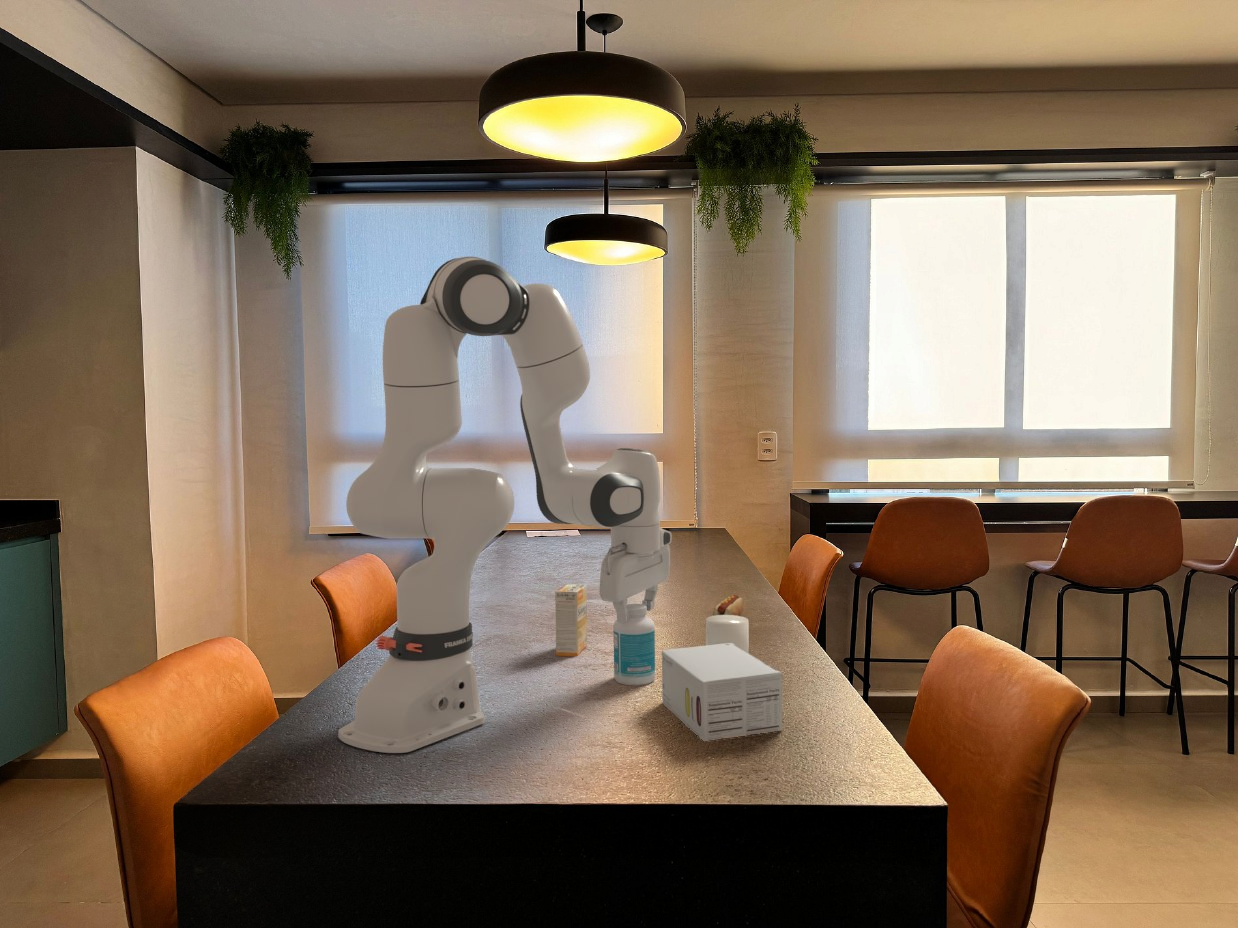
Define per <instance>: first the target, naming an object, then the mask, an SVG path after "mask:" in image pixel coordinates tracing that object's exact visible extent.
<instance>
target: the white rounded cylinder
mask: <svg viewBox="0 0 1238 928" xmlns="http://www.w3.org/2000/svg"><path fill="white" fill-rule="evenodd" d="M749 625H750V624H749V619H748V618H747V617H745V616H741V615H740V616H735V615H715V616H713V615H711V616H708V617H706V619H705V646H706V645H715V644H724V643H733V644H734V645H736V646H737V647H739V648H740V649H742V650H744V651H745V652H747V653H749V654H750V652H749V649H750V648H749V647H750V644H749V639H750V637H749V633H750V632H749V627H750V626H749Z"/></svg>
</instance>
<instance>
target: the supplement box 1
mask: <svg viewBox="0 0 1238 928" xmlns="http://www.w3.org/2000/svg"><path fill="white" fill-rule="evenodd" d="M554 594H555V595H554V596H555V597H554V598H555V656H557V657H578V656H579V655H580V654H581V653H582V652H583V650H584V649H585V648H587V646H588V600H587V599H588V585H587V584H577V583H575V584H572V583H571V584H564V586H562V587H560V588H558V589H557V590H556V591H555V593H554Z"/></svg>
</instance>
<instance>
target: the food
mask: <svg viewBox="0 0 1238 928" xmlns="http://www.w3.org/2000/svg"><path fill="white" fill-rule="evenodd" d="M743 609H744V600H743V598H742V597H739V596H738V595H736V594H734V595H730V596H728V597H727V598H725V599H724V600H722V601H721V602H719V603H718V604H717V605H715V607H714V608H713V610H712V616H715V615H735V616H741V615H742V613H743Z"/></svg>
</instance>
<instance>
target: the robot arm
mask: <svg viewBox="0 0 1238 928" xmlns="http://www.w3.org/2000/svg"><path fill="white" fill-rule="evenodd" d="M467 334H468V335H470V336H475V337H493V336H502V337H503V339H504V340H505V342H506V344H507V345H508V347H509V348H510V351H511V353H512V354H511V355H512V357H513V360H514V364H515V366H516V369H517V372H518V375H519V379H520V384H521V385H520V386H521V395H520V401H519V406H520V414H521V419H522V424H523V429H524V433H525V438H526V441H527V445H528V449H529V453H530V457H531V461H532V465H533V470H534V474H535V483H536V484H535V485H536V486H535V490H536V500H537V505H538V508H539V511H540V512H541V514H542V515H543V517H544V518H546V519H547V520H548V521H549V522H551V523H553V524H557V525H579V526H587V527H597V528H602V529H603V528H604V529H606V528H607V529H608V528H610V547H609V548H608V550H607V552H606V554H605V556H604V557H603V559H602V562H601V566H600V577H599V596H600V598H601V599H600V600H602V601H604V602H608V603H609V602H610V603H612V605H613V607H614V610H615V612H616V620H617V622H618V623H623V624H624V623H626V622H628V621H629V620H630V612H627V608H626V604H628V599H630V598H631V597H634V596H635V595H638V594H640V593H642V592H644V591H645V592H644V598H643V600H642V602H641V603H642V604H643V605H646V606H647V612H648V611H652V610H654V609H655V599H656V597H657V593H658V591H659V589H658V588H659V587H658V585H660V584H662V583H664V582H666V581H667V580H668V578H669V575H670V570H671V569H670V567H671V548H670V544H671V543H672V542H673V541H672V540H673V535H672V532H671V531H668V530H666V529H663V528H662V527H661V517H660V515H659V504H660V501H661V478H660V470H659V464H658V460H657V457H656V456H655V454H654V453H653V452H651V451H648V450H645V449H639V448H637V449H636V448H629V447H622V448H617V449H615V450H614V451H613V454H612V456H611V458H609V460H608V461H606V462H605V463H603V464H602V465H601V466H599V467H596V468H595V469H586V468H585V469H583V468H578V467H576V466H574V465H573V464H572V463H571V462H570V461H569V459H568V455H567V452H566V447H565V442H564V438H563V434H562V429H561V425H560V424H561V423H560V419H561V414H562V412H563V411H565V410H566V409H568V408H569V407H570V406H572V405H574V404H575V403H576V402H577V401H579V400H580V399H581V398H582V396H583V395H584V393H585V392H586V391H587V388H588V385H589V383H590V379H591V372H590V371H591V370H590V363H589V359H588V355H587V353H586V351H585V348H584V343H583V341H582V339H581V335H580V333H579V331H578V328H577V326H576V322H575V321H574V319H573V316H572V314H571V312H570V310H569V308H568V306H567V304H566V302H565V301H564V299H563V297H562V295H561V294H560V292H559V291H558V290H557V289H556V288H554V287H553V286H552V285H549V284H545V283H531V284H525V285H522V284H521V283H520V282H518V280H516V279H515V278H514V277H513V276H512V275H511V274H510V273H509V272H508V271H507V270H506V269H504V267H501V265H499V264H497V263H494V262H492V261H490V260H487V259H484V258H481V257H477V256H461V257H457V258H456V257H455V258H452V259H450V260H447V261H446V262H445V263H443V264H442V265H440V267H439V268H438V269H436V270H435V272H434V273H433V275H432V277H431V279H430V281H429V283H428V286H427V288H426V290H425V292H424V294H423V296H422V298H421V299H420V303H419V304H414V305H407V306H403V307H401V308H399V309H396V310H395V311H393V312H392V313H391V314H390V315H389V316H388V317H387V319H386V321H385V326H384V332H383V345H382V376H383V389H384V390H383V391H384V403H385V405H384V406H385V407H384V408H385V429H384V430H385V432H384V437H383V442H382V445H381V448H380V450H379V453H378V455H377V456H376V458H375V460H374V461H373V462H372V464H371V465H370V466H369V467H368V468H367V469H366V470H365V471H364V472H362V473H361V474H360V475H358V476H357V477H356V478H355V480H354V481H353V482H352V483H351V486H350V487H349V490H348V492H347V496H346V501H345V502H346V506H345V507H346V513H347V517H348V518H349V522H350V523H351V524H352V526H353V527H354V529H355V530H356V531H358V533H360V534H362V535H367V536H371V537H378V538H383V539H388V540H394V539H397V540H400V539H401V540H403V539H405V540H406V539H410V540H411V539H430V540H434V541H433V542H434V544H433V545H434V546H433V551H432V554H431V555H429V556H427V557H425V558H424V559H421V560H420V561H417V562H415V563H414V564H412V565H410V566H409V567H407V568H406V569H405V570H403V572H402V573H401V574H400V576H399V578H398V580H397V583H396V624H397V625H396V627H395V629H394V632H393V635H392V637H391V636H385V635H380V636H378V638H377V640H376V643H375V645H376V647H377V649H379V650H385V651H388V654H389V656H388V657H387V659H386V660H385V661H384V662H383V663H382V664H381V665H380V667H379V668H378V670H377V671H375V673H374V674H373V675H372V677H371V678H370V679H369V681H367V683H366V684H365V685H364V687H362V688H361V690H360V691H359V693H358V695H357V697H356V702H355V703H356V704H355V710H354V711H355V713H354V720H353V721H351V722H349V723H347V724H346V725H343V726H342V727H340V728H339V729H338V734H337V737H338V739H339V740H340V741H341V742H342V743H345V744H347V745H349V746H352V747H354V748H355V747H356V748H357V749H362V750H366V751H371V752H379V753H384V754H385V753H387V754H403V753H404V754H405V753H409V752H412V751H415V750H417V749H420V748H423V747H426V746H428V745H431V744H434V743H436V742H439V741H441V740H445V739H447V738H448V737H451V736H454V735H457V734H460V733H462V732H465V731H467V730H470V729H472V728H475V727H478V726H481V725H483V724H485V722H486V719H485V713H484V712H483V711H482V707H481V703H480V695H479V686H478V685H479V684H478V678H477V673H476V672H477V669H476V666H475V664H474V661H473V657H472V651H471V648H472V647H473V643H474V642H473V639H474V638H473V637H474V632H473V625H472V622H470V594H471V593H470V592H471V590H470V589H471V581H472V580H471V579H472V574H473V571H474V568H475V565H476V561H477V560H478V558H479V556H480V555H481V553H482V551H483V550H484V549H485V547H486V546H487V545H488V544H489V543H491V541H492V540H494V538H495V537H496V536H498V535H499V534H501V533H502V531H504V529H506V527H507V526H508V525H509V523H510V522H511V519H512V517H513V514H514V510H515V497H514V493H513V489H512V487H511V485H510V483H509V482H508V480H507V479H506V478H505V477H504V476H503V475H502V474H501V473H499V472H494V471H492V470H491V471H490V470H485V469H484V470H483V469H480V468H470V467H469V468H468V467H467V468H466V467H465V468H464V467H462V468H460V467H459V468H455V467H454V468H450V467H449V468H448V467H447V468H432V467H428V466H427V455H428V454H430V453H431V452H433V451H435V450H437V449H439V448H442V447H443V446H445V445H446V444H448V443H450V442H451V441H453V440H454V439H455V438H456V437H457V435H459V432H460V431H461V428H462V423H463V421H462V420H463V417H462V406H461V405H462V401H461V389H460V387H461V386H460V376H459V372H460V371H459V364H458V363H459V362H458V357H459V349H460V345H461V343H462V340H463V339H464V338H465V337H466V335H467Z"/></svg>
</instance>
